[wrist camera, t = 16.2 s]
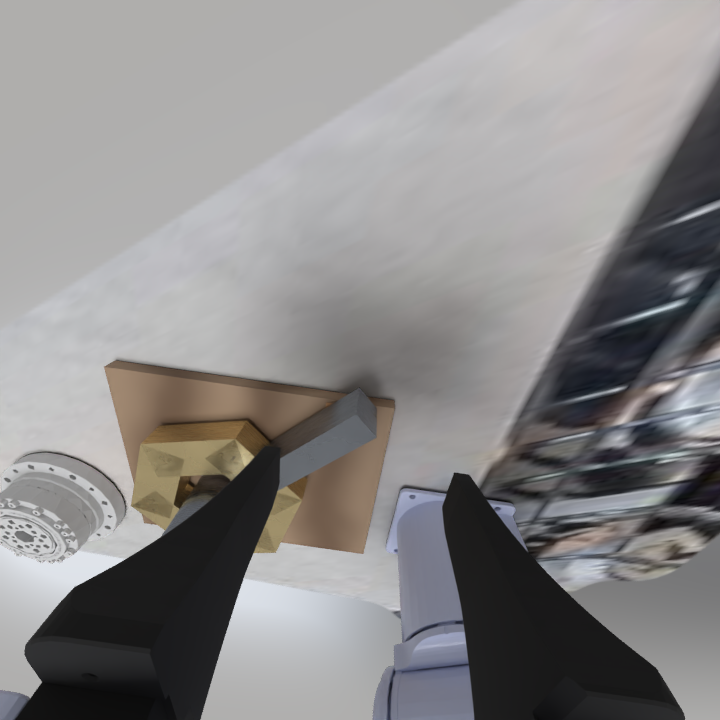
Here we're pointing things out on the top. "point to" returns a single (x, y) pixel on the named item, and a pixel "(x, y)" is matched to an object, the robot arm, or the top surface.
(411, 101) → the top surface
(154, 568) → the robot arm
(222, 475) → the steel pin
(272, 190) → the top surface
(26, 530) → the mechanical component
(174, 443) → the handled hexagon ring
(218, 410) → the mount board
